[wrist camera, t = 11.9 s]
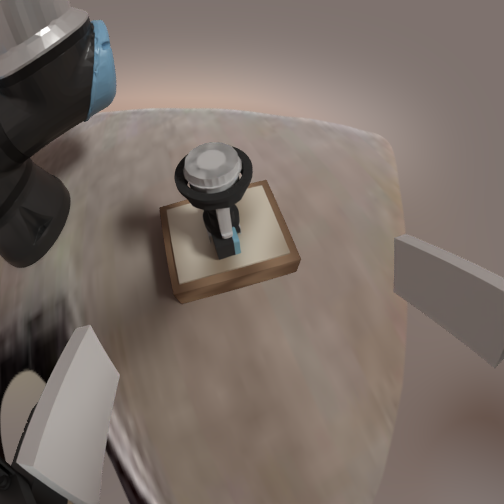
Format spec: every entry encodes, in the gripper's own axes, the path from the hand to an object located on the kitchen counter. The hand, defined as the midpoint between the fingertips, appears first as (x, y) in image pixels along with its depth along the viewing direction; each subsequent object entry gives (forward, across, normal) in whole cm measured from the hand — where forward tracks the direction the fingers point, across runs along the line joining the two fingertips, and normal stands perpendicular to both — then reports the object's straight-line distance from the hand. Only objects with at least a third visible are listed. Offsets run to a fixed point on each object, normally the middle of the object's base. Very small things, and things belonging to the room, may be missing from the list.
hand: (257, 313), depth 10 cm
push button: (+17, 0, -1) cm, 17 cm away
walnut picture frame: (+19, 0, -3) cm, 19 cm away
